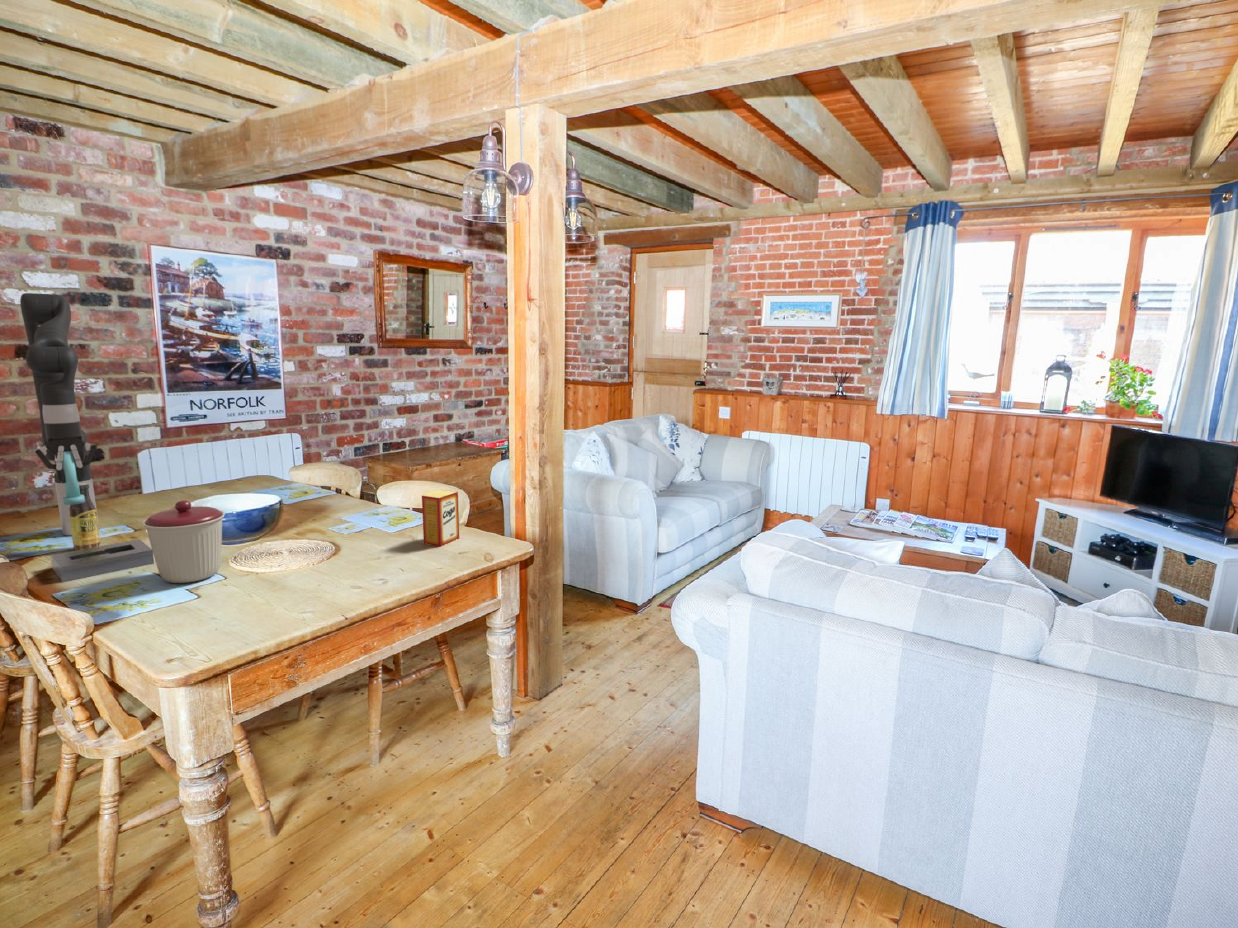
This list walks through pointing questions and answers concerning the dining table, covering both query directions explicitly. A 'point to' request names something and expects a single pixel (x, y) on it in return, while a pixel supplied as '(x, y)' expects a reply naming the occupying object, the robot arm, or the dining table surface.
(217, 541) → the canister
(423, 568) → the dining table surface
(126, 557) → the grey slotted block
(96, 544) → the sauce bottle
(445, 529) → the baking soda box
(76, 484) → the peg
